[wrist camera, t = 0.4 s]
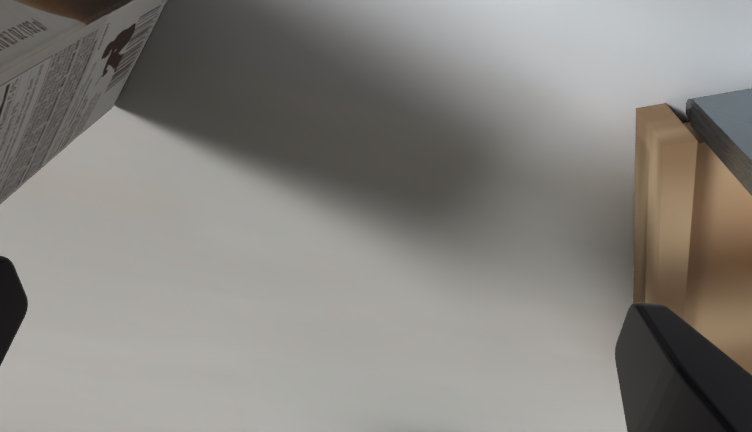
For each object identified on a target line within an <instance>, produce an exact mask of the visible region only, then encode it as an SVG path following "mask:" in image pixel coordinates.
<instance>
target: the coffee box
mask: <svg viewBox="0 0 752 432" xmlns="http://www.w3.org/2000/svg"><path fill="white" fill-rule="evenodd" d="M166 2H167V0H0V204H1V203H2V202H3V201H4V200H6V199H7V198H8V197H9V196H10V195H11V194H12V193H14V192H15V191H16V190H17V189H18V188H19V187H21V186H22V185H23V184H24V183H25V182H26V181H27V180H28V179H30V178H31V177H32V176H33V175H34V174H35V173H37V172H38V171H39V170H40V169H41V168H42V167H44V166H45V165H46V164H47V163H48V162H49V161H50V160H51V159H52V158H54V157H55V156H56V155H57V154H58V153H60V152H61V151H62V150H63V149H64V148H65V147H66V146H68V145H69V144H70V143H71V142H72V141H73V140H74V139H75V138H76V137H77V136H79V135H80V134H82V133H83V132H84V131H85V130H87V129H88V128H89V127H90V126H91V125H92V124H94V123H95V122H96V121H97V120H98V119H100V118H101V117H102V116H103V115H104V114H105V113H107V112H108V111H109V110H110V109H111V108H112V107H113V105H114V104H115V102H116V100H117V98H118V96H119V94H120V92H121V90H122V88H123V86H124V84H125V82H126V80H127V78H128V76H129V75H130V73H131V71H132V69H133V67H134V65H135V63H136V61H137V59H138V57H139V55H140V53H141V51H142V49H143V47H144V45H145V43H146V41H147V40H148V38H149V36H150V34H151V32H152V30H153V28H154V26H155V24H156V22H157V20H158V18H159V16H160V14H161V12H162V9H163V7H164V6H165V4H166Z"/></svg>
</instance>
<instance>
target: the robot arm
mask: <svg viewBox="0 0 752 432" xmlns="http://www.w3.org/2000/svg"><path fill="white" fill-rule="evenodd" d="M27 306H28V301H27V296H26V294H25V291H24V289H23V287H22V284H21V282H20V279H19V277H18V274H17V272H16V270H15V267H14V265H13V263H12V262H11V261H10V260H9V259H8V258H6V257H3V256H0V365H1V363H2V361H3V359H4V357H5V355H6V353H7V351H8V349H9V347H10V345H11V343H12V341H13V339H14V337H15V335H16V333H17V331H18V329H19V327H20V325H21V323H22V321H23V319H24V317H25V315H26V311H27ZM615 360H616V367H617V372H618V378H619V384H620V390H621V396H622V402H623V408H624V414H625V420H626V426H627V432H752V375H751V374H750V373H749V372H747V371H746V370H745V369H744V368H742V367H741V366H740V365H739V364H738V363H736V362H735V361H734V360H733V359H731V358H730V357H729V356H728V355H726V354H725V353H724V352H723V351H721V350H720V349H719V348H718V347H717V346H715V345H714V344H713V343H712V342H710V341H709V340H708V339H707V338H705V337H704V336H703V335H702V334H701V333H699V332H698V331H697V330H696V329H694V328H693V327H692V326H691V325H689V324H688V323H687V322H686V321H684V320H683V319H682V318H681V317H680V316H678V315H677V314H676V313H675V312H673V311H672V310H671V309H670V308H668V307H667V306H665V305H663V304H656V303H642V302H637V303H634V304H632V305H631V306H630V308H629V310H628V312H627V315H626V318H625V321H624V323H623V326H622V329H621V332H620V335H619V337H618V340H617V343H616V348H615Z"/></svg>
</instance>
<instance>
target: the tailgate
mask: <svg viewBox="0 0 752 432" xmlns="http://www.w3.org/2000/svg"><path fill="white" fill-rule="evenodd" d="M686 115H687V118H688V120H689V122H690V126H691V127H692V128H693V129H694V130H695V131H696V133H697V134H698V135H699V136H700V137H701V138H702V140H703V141H704V142H705V143H706V144H707V145H708V146H709V148H710V149H711V150H712V151H713V152H714V153H715V154H716V156H717V157H718V158H719V159H720V160H721V161H722V162H723V164H724V165H725V166H726V167H727V168H728V169H729V171H730V172H731V173H732V174H733V175H734V176H735V177H736V179H737V180H738V181H739V182H740V183H741V184H742V185H743V187H744V188H745V189H746V190H747V191H748V192H749V193H750V195H751V196H752V89H746V90H740V91H734V92H729V93H723V94H717V95H711V96H705V97H699V98H693V99H688V100H687V103H686Z"/></svg>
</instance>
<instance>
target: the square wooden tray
mask: <svg viewBox="0 0 752 432" xmlns="http://www.w3.org/2000/svg"><path fill="white" fill-rule="evenodd" d="M637 302H642V303H656V304H663V305H665V306H667V307H668V308H670V309H671V310H672V311H673V312H675V313H676V314H677V315H678V316H680V317H681V318H682V319H683V320H684V321H686V322H687V323H688V324H689V325H691V326H692V327H693V328H694V329H696V330H697V331H698V332H699V333H701V334H702V335H703V336H704V337H705V338H707V339H708V340H709V341H710V342H712V343H713V344H714V345H715V346H717V347H718V348H719V349H720V350H721V351H723V352H724V353H725V354H726V355H728V356H729V357H730V358H731V359H733V360H734V361H735V362H736V363H738V364H739V365H740V366H741V367H742V368H744V369H745V370H746V371H747V372H749V373H750V374H751V375H752V196H751V195H750V193H749V192H748V191H747V190H746V189H745V188H744V187H743V185H742V184H741V183H740V182H739V181H738V180H737V179H736V177H735V176H734V175H733V174H732V173H731V172H730V171H729V169H728V168H727V167H726V166H725V165H724V164H723V162H722V161H721V160H720V159H719V158H718V157H717V156H716V154H715V153H714V152H713V151H712V150H711V149H710V148H709V146H708V145H707V144H706V143H705V142H704V141H703V140H702V138H701V137H700V136H699V135H698V134H697V133H696V131H695V130H694V129H693V128H692V127H691V126H690V122H687V123H682V122H681V121H680V120H679V118H678V117H677V116H676V115H675V114H674V112H673V111H672V110H671V109H670V108H669V107H668V105H667V104H666V103H665V104H659V105H653V106H647V107H641V108H636V155H635V227H634V299H633V304H634V303H637Z"/></svg>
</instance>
